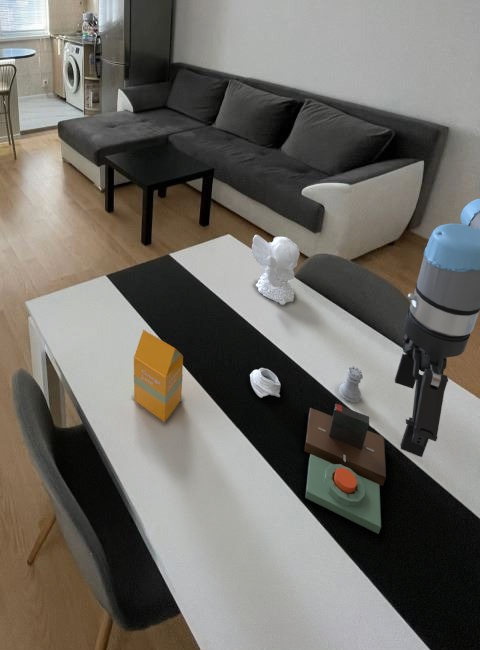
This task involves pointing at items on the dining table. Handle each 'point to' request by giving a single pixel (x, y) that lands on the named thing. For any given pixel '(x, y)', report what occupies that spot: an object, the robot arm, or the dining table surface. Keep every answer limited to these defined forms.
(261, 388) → the white folded cloth ring
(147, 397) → the orange juice
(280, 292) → the cherub figurine
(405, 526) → the dining table surface
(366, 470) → the panel
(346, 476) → the button
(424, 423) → the robot arm
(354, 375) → the rook chess piece
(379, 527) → the button block
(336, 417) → the red-tipped grey box
